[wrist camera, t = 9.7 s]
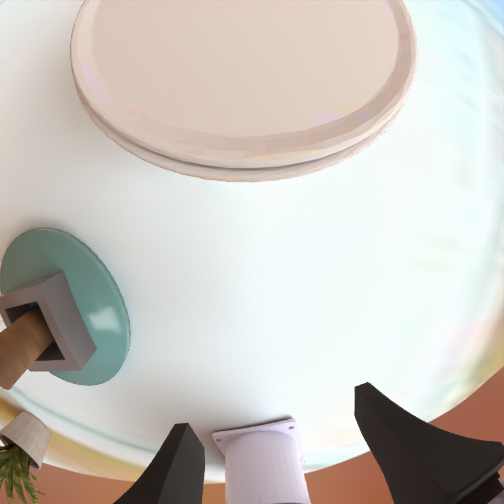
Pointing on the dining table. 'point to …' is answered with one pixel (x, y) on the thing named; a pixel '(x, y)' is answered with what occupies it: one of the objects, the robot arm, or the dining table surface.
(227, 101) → the coffee cup
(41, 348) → the walnut peg
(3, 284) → the candle dish
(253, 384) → the dining table surface
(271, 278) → the dining table surface
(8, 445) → the house plant
